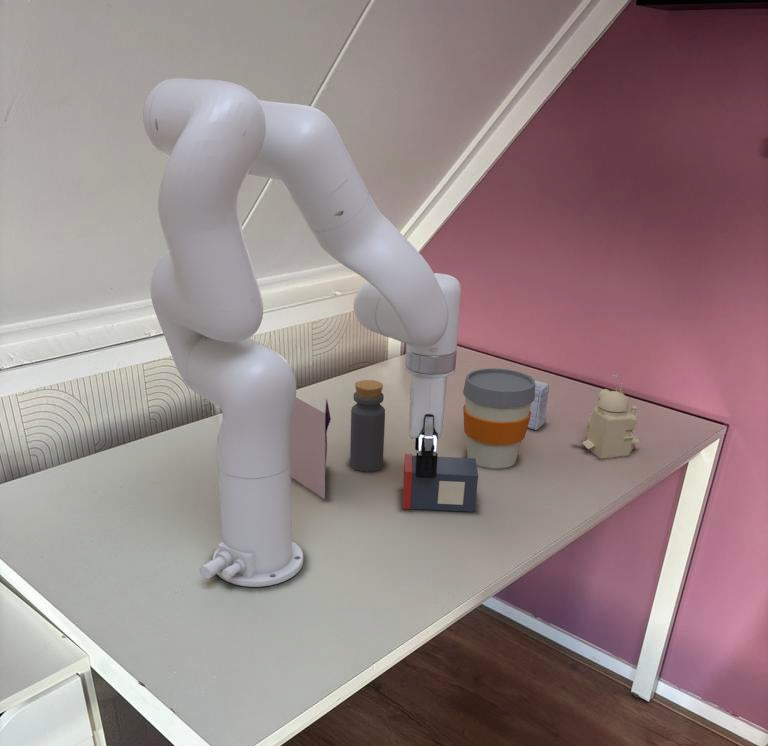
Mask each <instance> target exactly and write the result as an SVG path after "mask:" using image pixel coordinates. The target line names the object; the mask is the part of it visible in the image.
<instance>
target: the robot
mask: <svg viewBox="0 0 768 746" xmlns="http://www.w3.org/2000/svg"><path fill="white" fill-rule="evenodd" d="M610 376H612V377H615V378H617V379H616V383H619V373H616V374H610ZM620 384H621V385H620V386H618V387H619V391H618V388H616V389H615V390H610V389H607V388H604V389H601V391H599V392H598V395H597V397H598V404H597V405H596V406H594V408H593V410H592V413H589V415H590V416H591V417H590V421H586V432H587V437H586V440H585V441H584V440H583V441H582V442H581V443H580V444H578V446H581V445H582V446H581V447H582V448H584V447H585V448H586V449H587V454H589V453H590V452H591V453H592V454H593V455H595V456H596V457H598V458H599V459H609V458H618V457H628V456H630V453H632V451H633V450H634V449H635V445H637V444H641V440H640V439H639V437H637V436H636V435H635V434H634V430H635V429H636V426H637V423H638V417H637V416H636V412H637V409H638V407H637V406H636V405H635V404H634V405H631V406H630V396H628V397H627V396H626V395H625V394H624V393H623V391H622V388H623V385H624V383H623V382H621V383H620ZM629 409H630V410H629ZM631 433H632V434H631Z"/></svg>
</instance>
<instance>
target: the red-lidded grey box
mask: <svg viewBox="0 0 768 746" xmlns="http://www.w3.org/2000/svg"><path fill="white" fill-rule="evenodd" d="M478 481H479V472H478V465H476V459H475V458H468V457H455V456H454V457H453V456H452V457H451V456H438V457H437V473H436V478H417V477H416V455H413V453H404V466H403V485H402V510H426V511H427V510H428V511H447V512H448V511H449V512H450V511H451V512H468V513H469V512H472V513H474V512H475V510H476V503H477V492H478Z"/></svg>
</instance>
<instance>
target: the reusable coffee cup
mask: <svg viewBox="0 0 768 746" xmlns="http://www.w3.org/2000/svg"><path fill="white" fill-rule="evenodd" d="M534 380H535V379H534V378H533V377H531V376H530V375H528V374H526V373H523V372H521V371H517V370H512V369H507V368H506V369H505V368H481V369H475V370H472V371H470V372H468V373H467V374H466V376H465V381H464V386H463V390H462V394H463V396H464V403H465V404H464V405H463V408H462V410H463V411H462V413H463V414H462V415H463V431H464V434H465V435H466V455H467V457H466V458H475V459H476V465H477V466H478V467H482V468H486V469H505V468H506V469H507V468H509V467H512V466H514V465H515V464H516V462H517V459H518V455H519V451H520V448H521V444H522V441H523V440H524V439H525V438H526V435H527V430H528V428H527V427H528V424H529V420H530V416H531V411H530V407H531V404H532V402H533V401H534V399H535V381H536V380H535V381H534Z"/></svg>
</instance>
